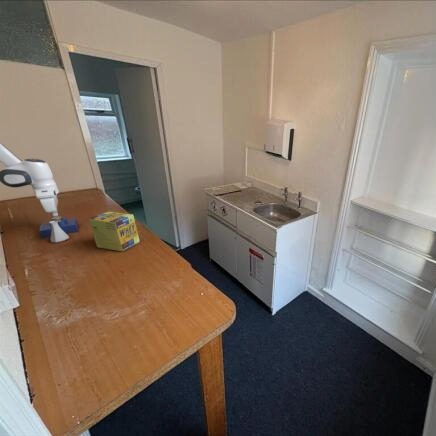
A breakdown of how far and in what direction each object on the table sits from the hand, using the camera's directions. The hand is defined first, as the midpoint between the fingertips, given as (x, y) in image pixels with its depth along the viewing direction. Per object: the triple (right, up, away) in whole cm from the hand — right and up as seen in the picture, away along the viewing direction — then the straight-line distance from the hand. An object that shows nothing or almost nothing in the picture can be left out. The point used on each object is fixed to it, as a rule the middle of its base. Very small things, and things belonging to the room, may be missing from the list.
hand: (56, 215), depth 126 cm
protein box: (+41, -15, -8) cm, 44 cm away
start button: (0, -3, +1) cm, 3 cm away
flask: (+8, -13, -6) cm, 17 cm away
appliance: (+1, -9, +2) cm, 9 cm away
